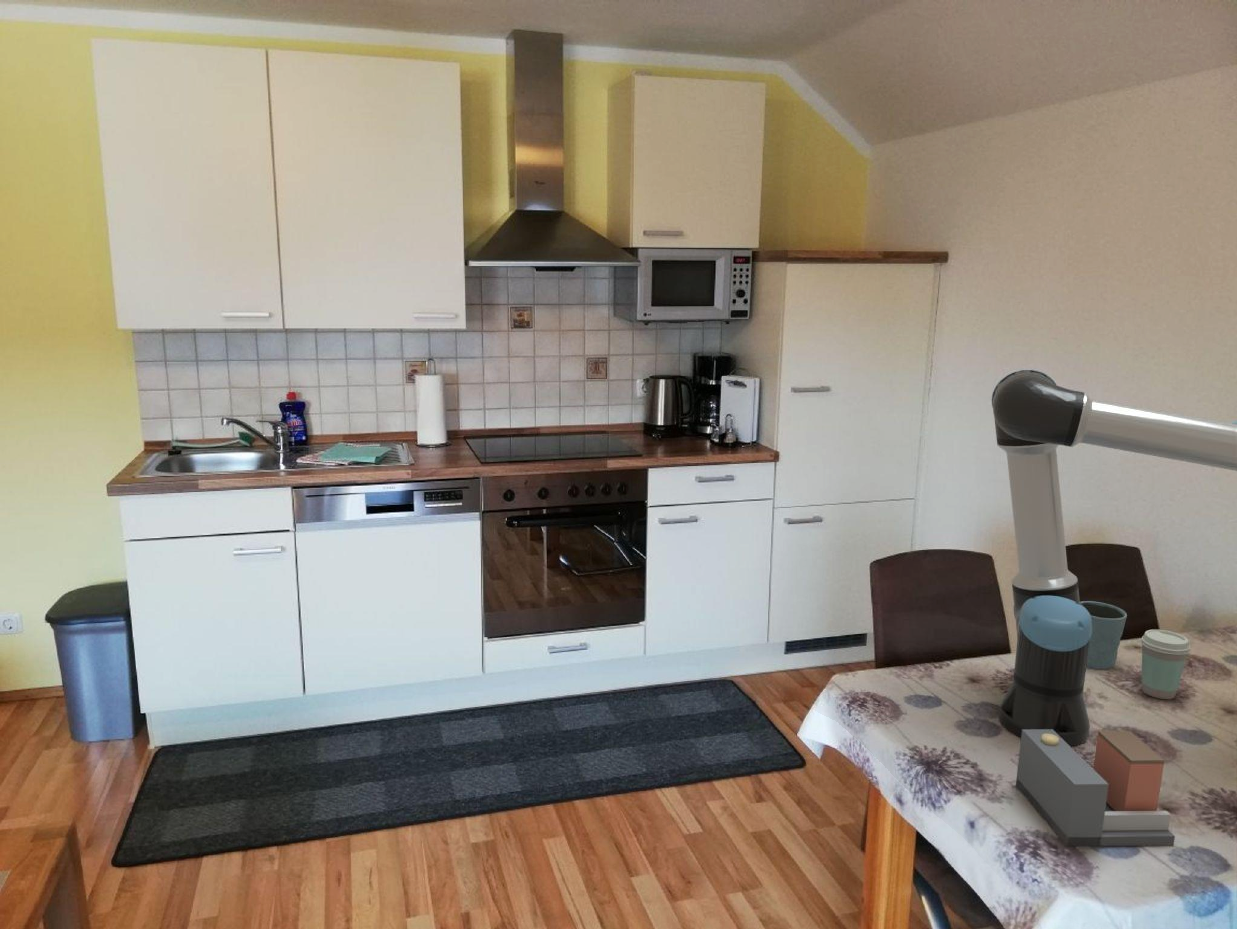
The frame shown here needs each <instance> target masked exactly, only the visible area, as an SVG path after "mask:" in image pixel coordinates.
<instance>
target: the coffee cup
mask: <svg viewBox="0 0 1237 929" xmlns="http://www.w3.org/2000/svg"><path fill="white" fill-rule="evenodd" d="M1140 644H1141V691H1142V692H1143V693H1144V694H1146V695H1148V696H1150V697H1153V698H1156V699H1160V700H1161V699H1162V700H1173V699H1174V698H1176V695H1177V693H1178V692H1177V691H1178V688H1179V685H1180V681H1181V678H1182V675H1183V671H1184V669H1185V665H1186V662H1187V657H1188V654H1190V653H1191V650H1192V649H1191V645H1190V642H1189V639H1188V638H1187V637H1186V636H1184V635H1182V634H1180V633H1177V632H1174V631H1172V630H1164V629H1149V630H1146V631H1145V632H1144V634H1143V635H1142V637H1141V639H1140Z"/></svg>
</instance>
